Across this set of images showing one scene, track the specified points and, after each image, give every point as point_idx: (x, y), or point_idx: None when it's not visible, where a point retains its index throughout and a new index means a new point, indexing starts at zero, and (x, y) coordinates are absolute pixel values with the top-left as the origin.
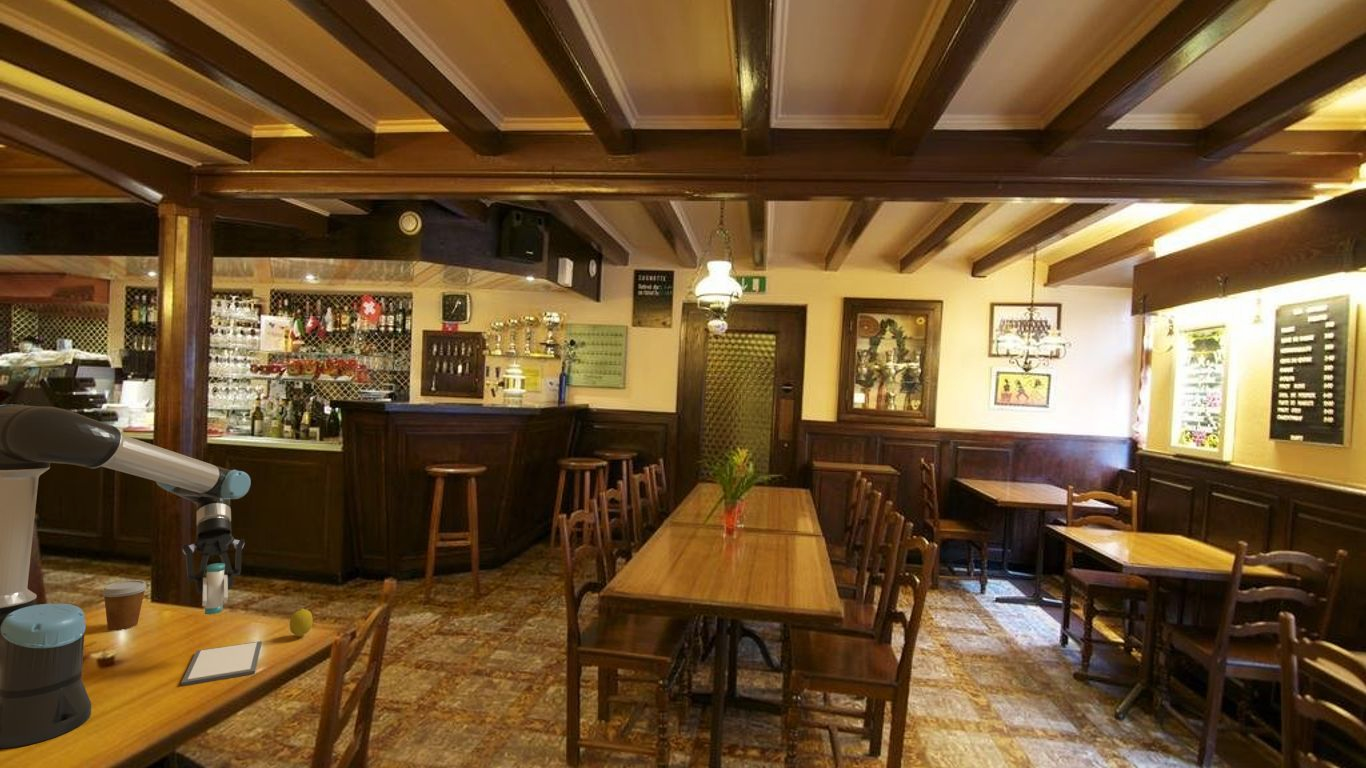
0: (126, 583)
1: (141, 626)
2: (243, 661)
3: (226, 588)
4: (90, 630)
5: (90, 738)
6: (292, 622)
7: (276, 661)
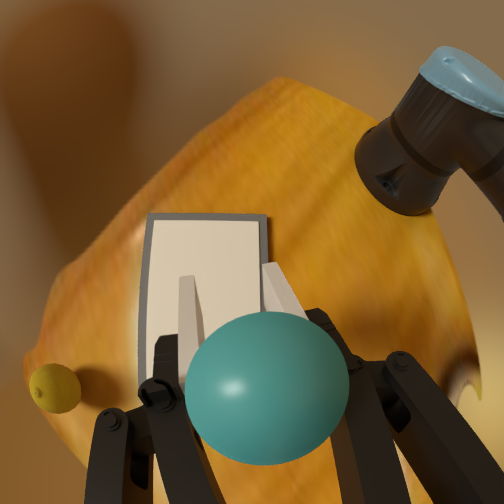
0: None
1: None
2: (165, 267)
3: (184, 308)
4: None
5: (328, 117)
6: (65, 377)
7: (111, 261)
